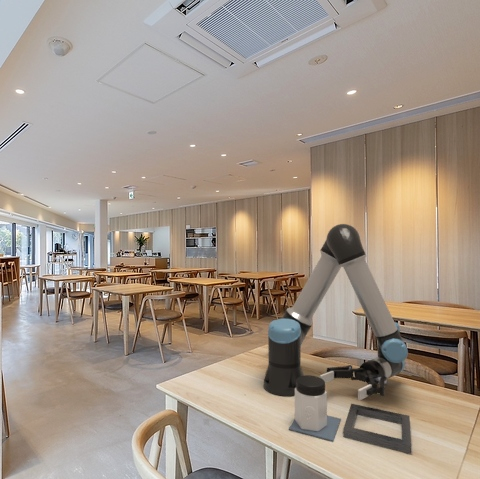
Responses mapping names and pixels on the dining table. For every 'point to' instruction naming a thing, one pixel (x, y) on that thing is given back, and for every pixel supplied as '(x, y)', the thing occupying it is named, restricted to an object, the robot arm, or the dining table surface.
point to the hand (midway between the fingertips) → (338, 387)
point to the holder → (375, 438)
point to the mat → (324, 433)
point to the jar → (310, 403)
